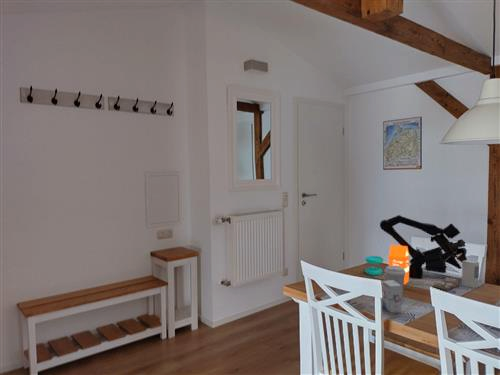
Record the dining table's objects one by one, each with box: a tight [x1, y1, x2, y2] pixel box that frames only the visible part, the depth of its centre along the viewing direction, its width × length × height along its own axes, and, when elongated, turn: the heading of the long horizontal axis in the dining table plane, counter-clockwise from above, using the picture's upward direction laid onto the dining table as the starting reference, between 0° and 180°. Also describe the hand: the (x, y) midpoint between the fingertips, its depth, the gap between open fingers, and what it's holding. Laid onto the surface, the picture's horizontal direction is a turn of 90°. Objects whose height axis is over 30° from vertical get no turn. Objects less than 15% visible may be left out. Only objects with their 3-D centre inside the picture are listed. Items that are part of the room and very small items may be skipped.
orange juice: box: [388, 244, 410, 285], centre depth 204 cm, size 8×9×20 cm
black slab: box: [421, 246, 447, 274], centre depth 225 cm, size 4×13×15 cm, turn 47°
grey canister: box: [383, 265, 406, 302], centre depth 175 cm, size 10×10×15 cm
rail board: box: [431, 276, 460, 292], centre depth 193 cm, size 14×7×4 cm, turn 125°
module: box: [461, 259, 480, 288], centre depth 195 cm, size 6×4×13 cm
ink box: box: [382, 280, 402, 314], centre depth 162 cm, size 9×5×12 cm, turn 5°
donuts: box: [364, 255, 384, 277], centre depth 219 cm, size 10×10×10 cm
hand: (464, 267), depth 198 cm, fingers open, 9 cm apart
